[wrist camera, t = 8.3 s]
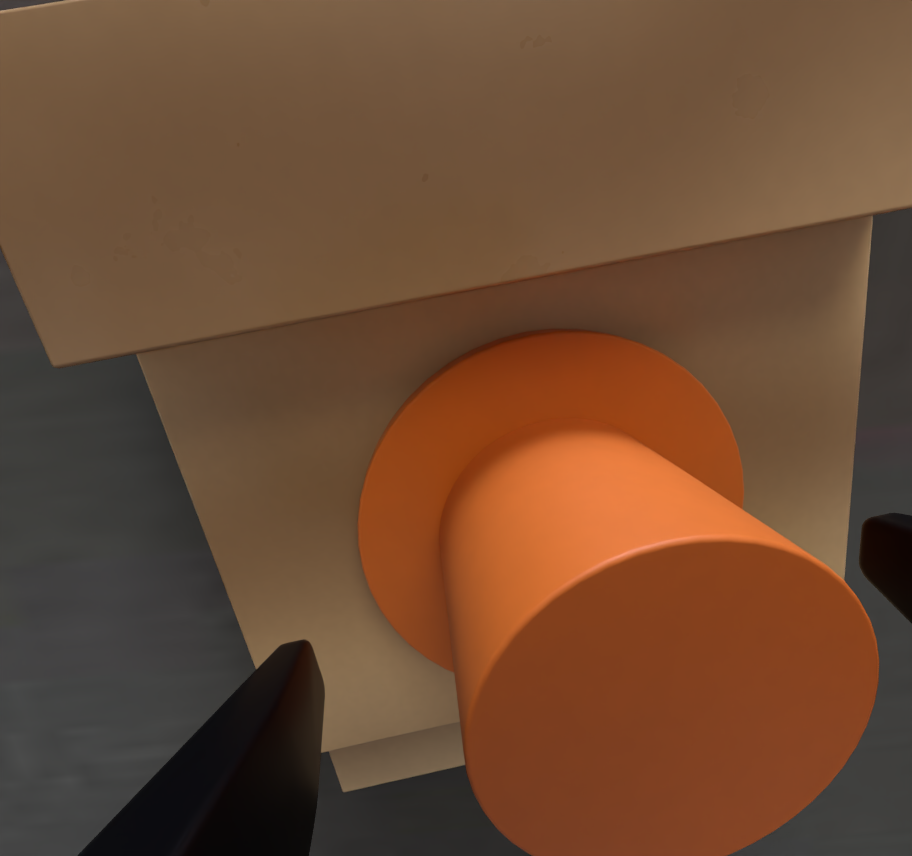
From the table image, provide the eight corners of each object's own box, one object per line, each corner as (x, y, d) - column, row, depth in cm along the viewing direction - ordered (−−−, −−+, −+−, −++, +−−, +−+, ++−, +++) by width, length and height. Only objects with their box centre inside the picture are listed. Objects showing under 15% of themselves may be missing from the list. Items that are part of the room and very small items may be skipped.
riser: (745, 660, 16) (904, 834, 11) (348, 748, 16) (318, 975, 11) (750, 53, 11) (1055, -160, 6) (153, 156, 11) (-101, 23, 5)
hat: (727, 629, 11) (963, 882, 7) (404, 701, 11) (400, 1020, 6) (726, 292, 9) (1089, 296, 4) (315, 371, 9) (196, 473, 4)
